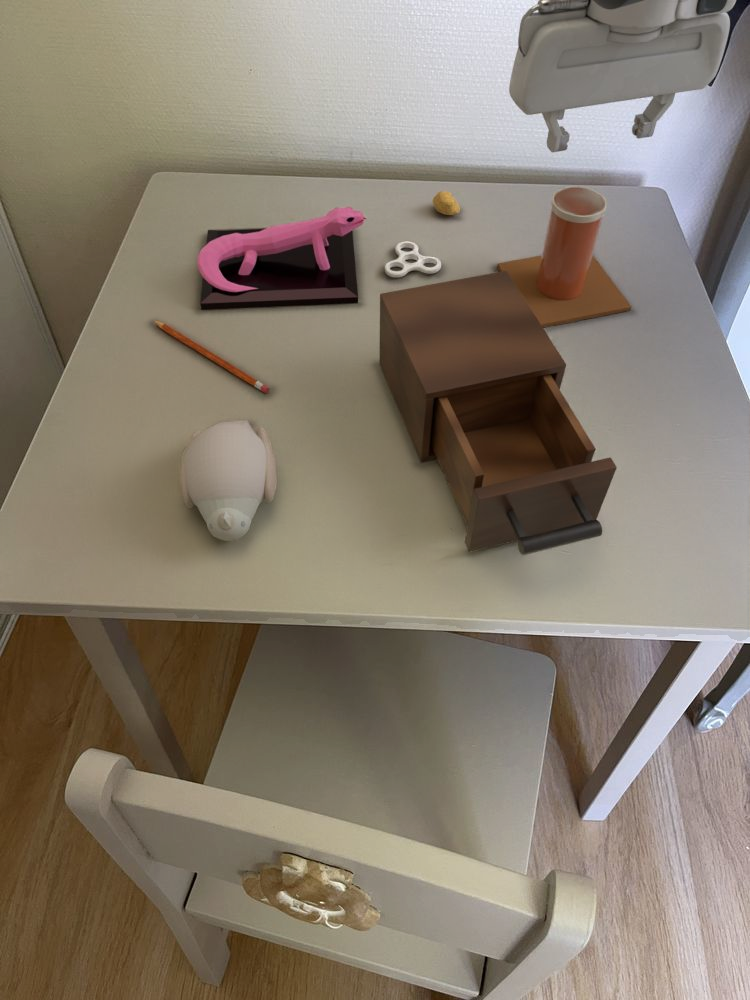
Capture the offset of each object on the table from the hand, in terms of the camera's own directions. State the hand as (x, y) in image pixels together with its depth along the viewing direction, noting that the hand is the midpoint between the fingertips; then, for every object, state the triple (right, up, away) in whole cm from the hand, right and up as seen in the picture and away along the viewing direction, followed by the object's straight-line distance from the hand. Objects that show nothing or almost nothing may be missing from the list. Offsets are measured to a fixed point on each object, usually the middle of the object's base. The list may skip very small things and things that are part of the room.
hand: (599, 142), depth 78 cm
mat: (0, -11, +15) cm, 18 cm away
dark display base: (-34, -8, +17) cm, 39 cm away
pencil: (-41, -20, +7) cm, 46 cm away
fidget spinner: (-18, -7, +18) cm, 26 cm away
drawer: (-10, -36, -6) cm, 38 cm away
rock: (-13, +2, +24) cm, 28 cm away
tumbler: (-1, -11, +14) cm, 18 cm away
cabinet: (-14, -26, +3) cm, 29 cm away
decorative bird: (-36, -35, -4) cm, 51 cm away
